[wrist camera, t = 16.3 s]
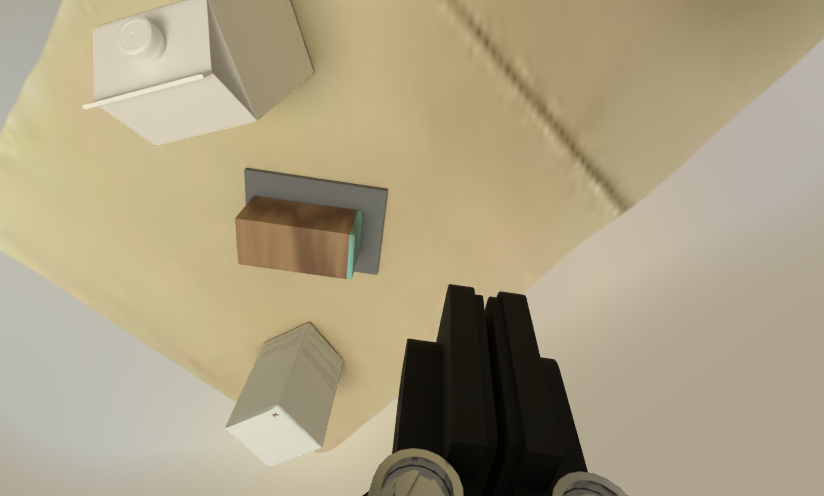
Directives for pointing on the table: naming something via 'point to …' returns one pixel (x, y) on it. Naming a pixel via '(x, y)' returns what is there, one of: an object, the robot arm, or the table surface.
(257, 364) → the supplement box
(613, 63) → the table surface
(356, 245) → the walnut block
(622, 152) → the table surface
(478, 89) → the table surface
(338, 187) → the mat
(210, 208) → the table surface
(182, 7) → the milk carton
